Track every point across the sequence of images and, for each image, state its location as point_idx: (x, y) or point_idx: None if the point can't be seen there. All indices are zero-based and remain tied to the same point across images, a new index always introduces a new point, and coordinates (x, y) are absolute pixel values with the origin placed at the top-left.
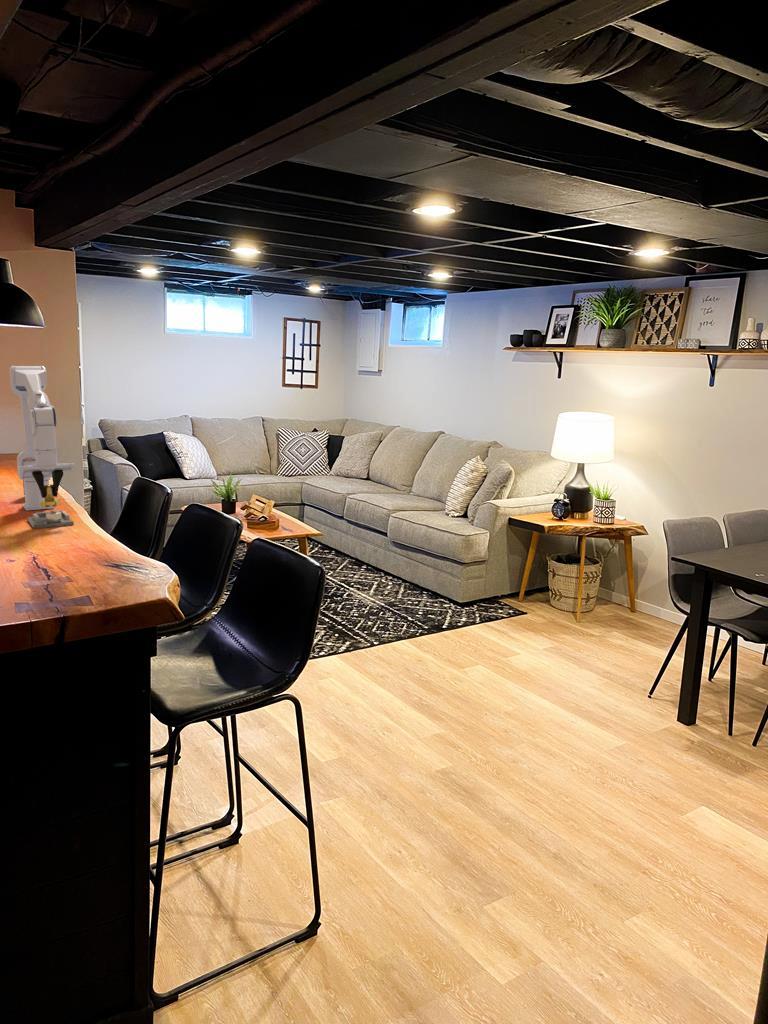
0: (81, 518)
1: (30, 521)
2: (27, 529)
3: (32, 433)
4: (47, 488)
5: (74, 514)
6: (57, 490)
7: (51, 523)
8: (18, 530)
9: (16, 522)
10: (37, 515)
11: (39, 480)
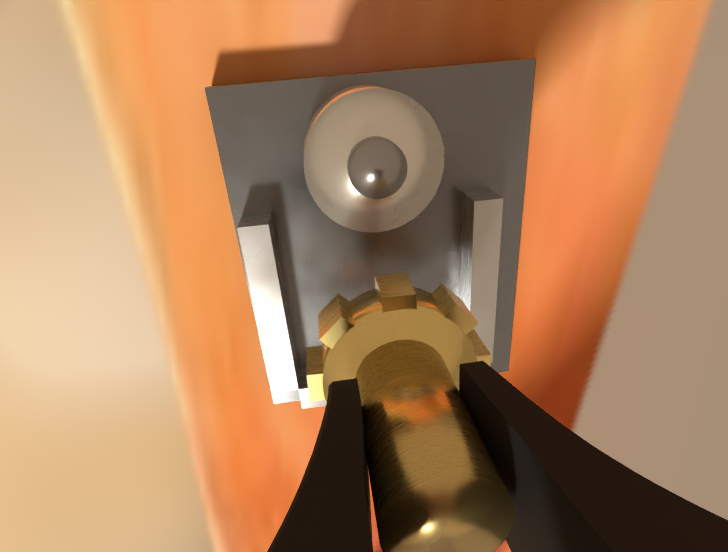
0: (164, 318)
1: (520, 234)
2: (565, 64)
3: None
4: (463, 446)
5: (220, 443)
6: (325, 427)
7: (393, 77)
8: (629, 55)
9: (563, 331)
10: (474, 292)
11: (682, 525)
